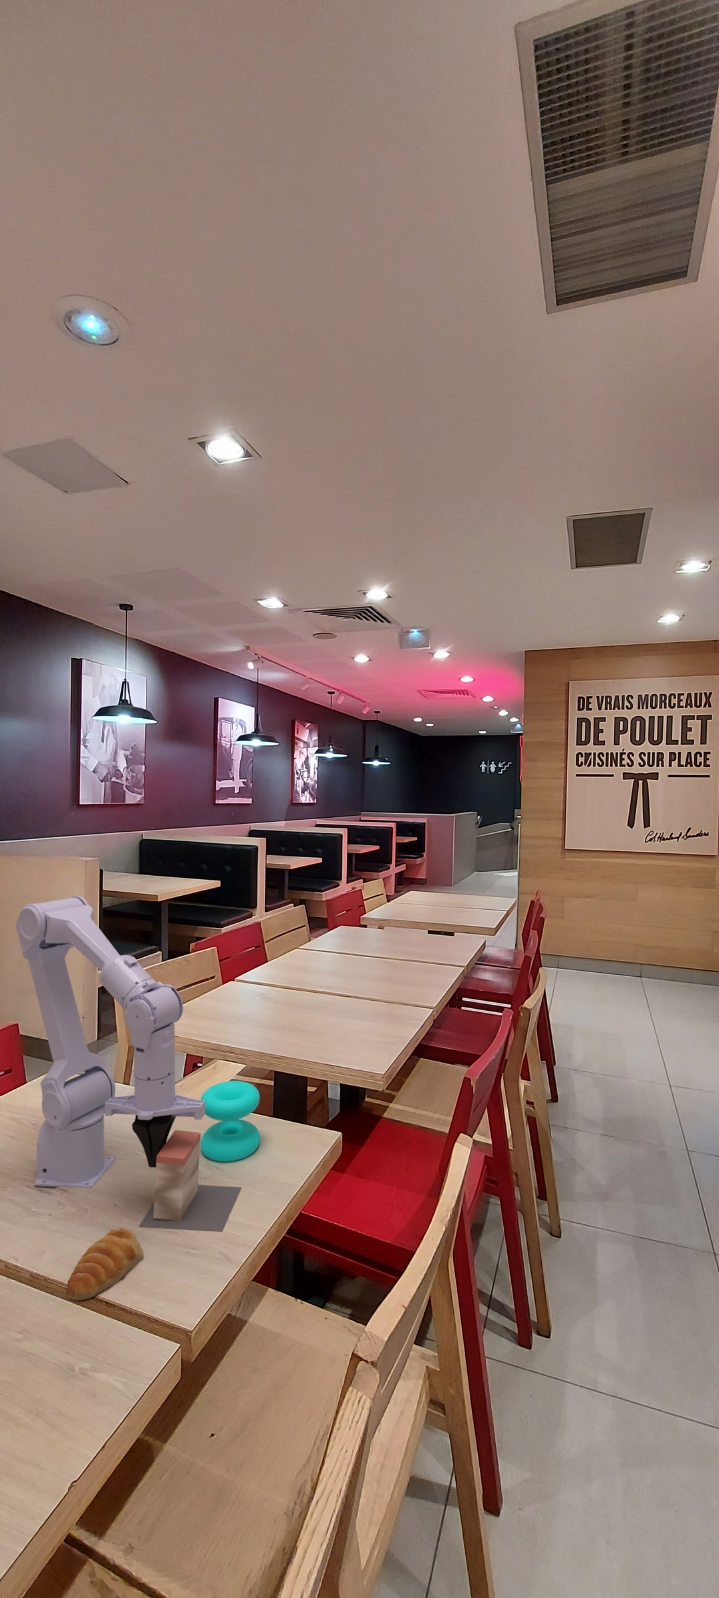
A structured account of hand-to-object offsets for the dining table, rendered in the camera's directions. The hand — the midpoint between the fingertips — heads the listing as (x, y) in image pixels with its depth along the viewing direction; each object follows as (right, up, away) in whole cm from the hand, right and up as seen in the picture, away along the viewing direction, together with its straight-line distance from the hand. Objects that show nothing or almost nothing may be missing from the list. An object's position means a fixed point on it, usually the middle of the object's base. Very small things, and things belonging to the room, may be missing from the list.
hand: (155, 1163), depth 95 cm
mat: (+5, -6, 0) cm, 8 cm away
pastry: (-2, -7, -13) cm, 15 cm away
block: (+3, -6, 0) cm, 7 cm away
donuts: (+8, -6, +15) cm, 19 cm away
